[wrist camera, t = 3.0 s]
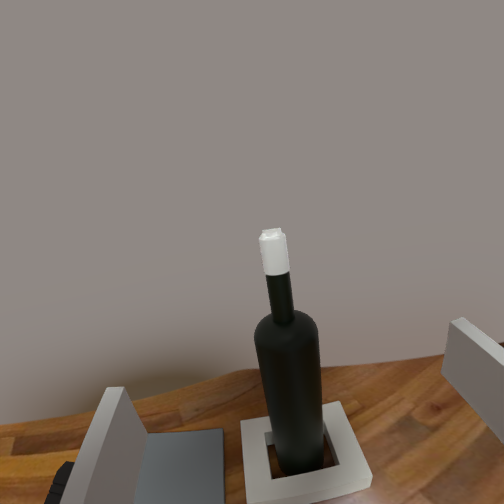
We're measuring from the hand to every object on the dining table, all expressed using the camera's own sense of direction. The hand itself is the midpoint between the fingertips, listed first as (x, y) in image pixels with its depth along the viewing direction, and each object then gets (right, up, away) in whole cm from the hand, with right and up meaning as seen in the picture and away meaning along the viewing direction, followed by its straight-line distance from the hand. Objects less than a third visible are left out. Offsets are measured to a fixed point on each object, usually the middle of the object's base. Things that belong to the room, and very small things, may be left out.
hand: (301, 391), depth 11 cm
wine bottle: (+4, -22, +23) cm, 32 cm away
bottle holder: (+4, -22, +23) cm, 31 cm away
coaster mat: (-15, -25, +22) cm, 37 cm away
